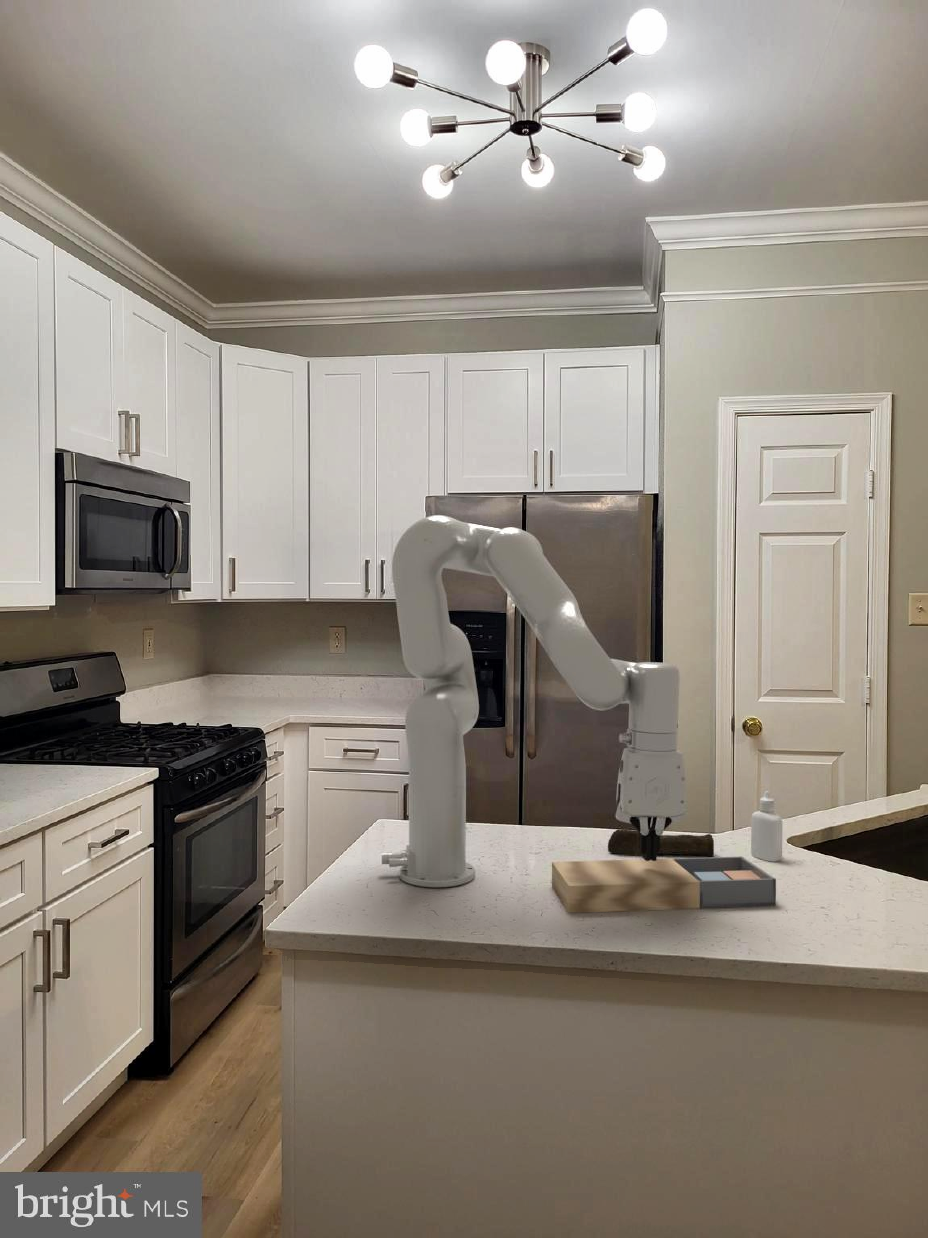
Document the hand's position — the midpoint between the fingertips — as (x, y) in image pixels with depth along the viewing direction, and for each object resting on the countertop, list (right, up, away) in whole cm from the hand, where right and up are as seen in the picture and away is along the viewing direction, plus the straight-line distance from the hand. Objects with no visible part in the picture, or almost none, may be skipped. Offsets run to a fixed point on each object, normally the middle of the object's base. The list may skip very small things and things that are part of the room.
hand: (648, 858), depth 135 cm
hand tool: (+7, -6, +22) cm, 24 cm away
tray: (+12, -6, +1) cm, 13 cm away
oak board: (-4, -6, -1) cm, 7 cm away
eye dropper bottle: (+26, -6, +21) cm, 34 cm away
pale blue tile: (+10, -5, 0) cm, 12 cm away
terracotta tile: (+15, -3, +1) cm, 15 cm away
